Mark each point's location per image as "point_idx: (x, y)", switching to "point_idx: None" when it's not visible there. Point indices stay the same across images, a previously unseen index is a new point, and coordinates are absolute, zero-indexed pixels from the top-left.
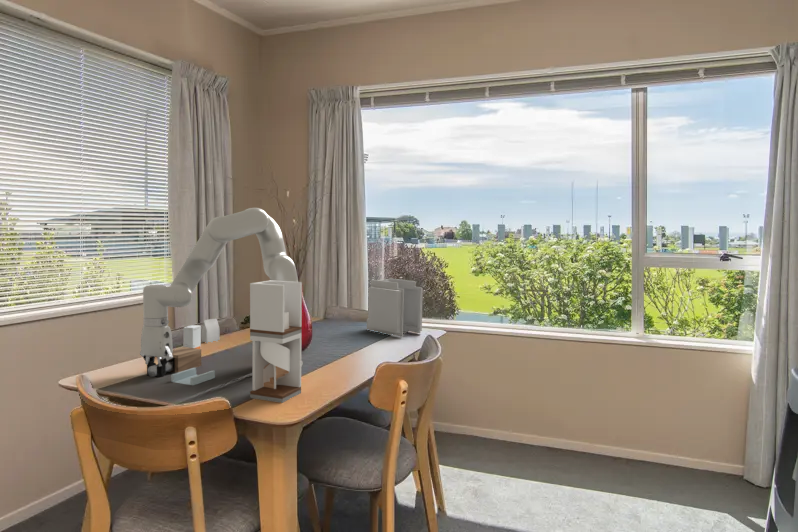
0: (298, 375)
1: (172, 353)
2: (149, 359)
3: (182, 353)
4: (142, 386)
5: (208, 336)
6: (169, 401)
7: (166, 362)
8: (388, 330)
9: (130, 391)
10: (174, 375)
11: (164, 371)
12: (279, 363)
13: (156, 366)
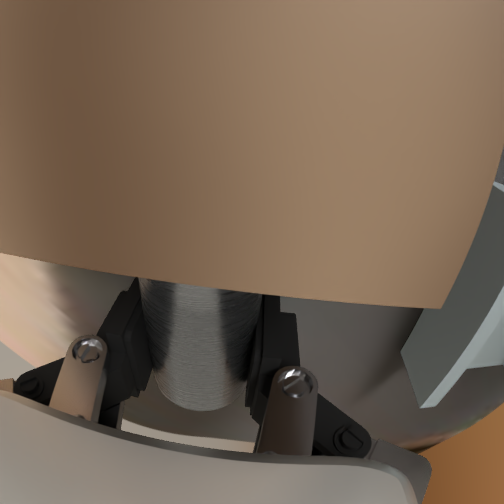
0: None
1: (157, 174)
2: (115, 426)
3: (460, 88)
4: (245, 389)
5: None
6: (442, 431)
7: (336, 421)
8: None
9: (252, 430)
10: (437, 399)
11: (295, 336)
12: None
13: (222, 391)
